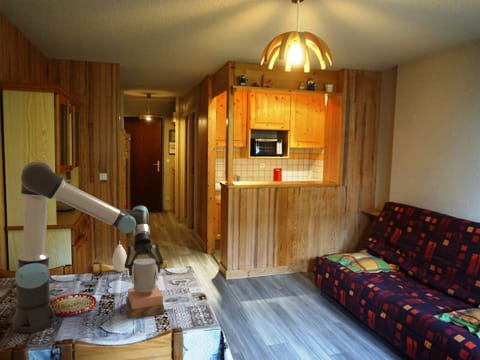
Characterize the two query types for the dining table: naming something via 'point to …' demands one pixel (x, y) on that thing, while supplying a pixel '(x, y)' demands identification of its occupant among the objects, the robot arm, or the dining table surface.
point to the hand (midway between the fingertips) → (145, 280)
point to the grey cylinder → (144, 274)
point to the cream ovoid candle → (119, 258)
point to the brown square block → (145, 298)
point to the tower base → (143, 310)
